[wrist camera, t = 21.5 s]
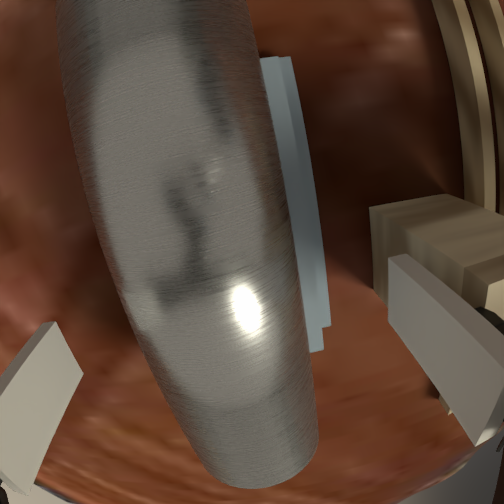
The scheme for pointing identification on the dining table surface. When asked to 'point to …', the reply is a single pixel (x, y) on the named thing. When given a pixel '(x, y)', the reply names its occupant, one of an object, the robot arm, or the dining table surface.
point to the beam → (474, 169)
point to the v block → (299, 193)
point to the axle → (195, 221)
